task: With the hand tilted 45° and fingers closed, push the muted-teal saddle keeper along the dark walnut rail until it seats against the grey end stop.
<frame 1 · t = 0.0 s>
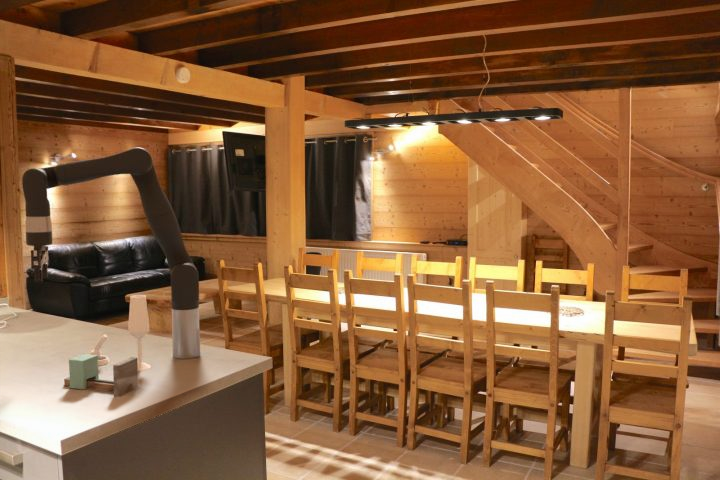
hand: (41, 279, 191), 29 cm above the worktop, tool pointing down, fingers open, 8 cm apart
keeper: (83, 371, 175), point 5 cm above the worktop, slide at -5.0 cm
champagne flute: (140, 368, 193), on the worktop
rail: (98, 387, 174), on the worktop
white vr controller: (97, 363, 198), on the worktop
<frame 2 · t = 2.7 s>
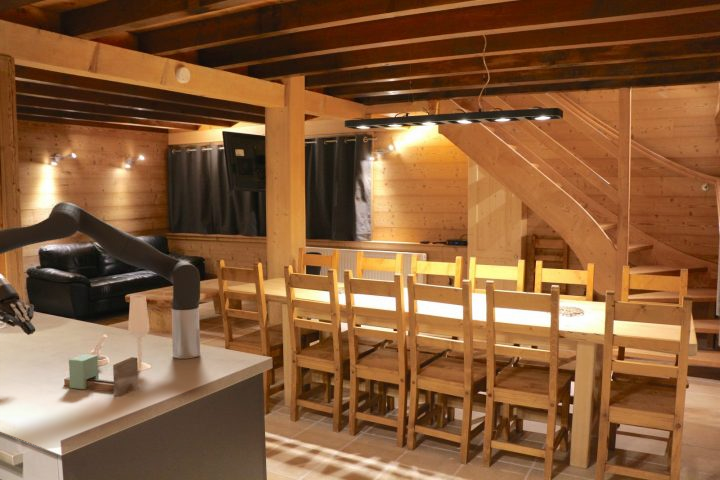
hand: (31, 332, 179), 15 cm above the worktop, tool tilted 45°, fingers closed
nothing on the worktop moved.
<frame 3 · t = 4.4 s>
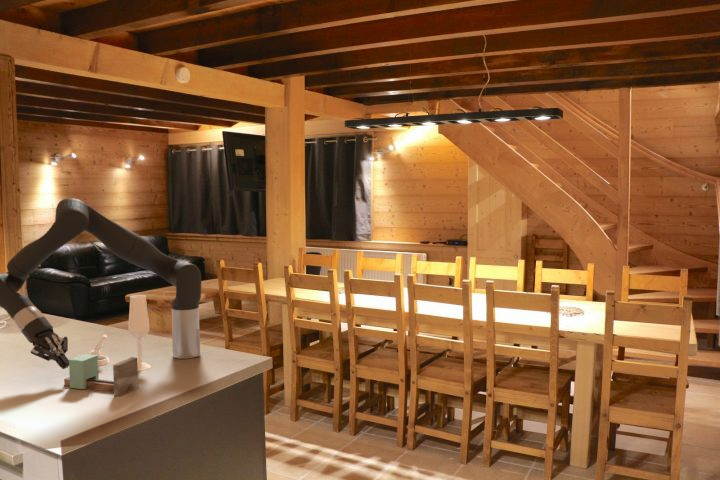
hand: (66, 366, 177), 5 cm above the worktop, tool tilted 45°, fingers closed
nothing on the worktop moved.
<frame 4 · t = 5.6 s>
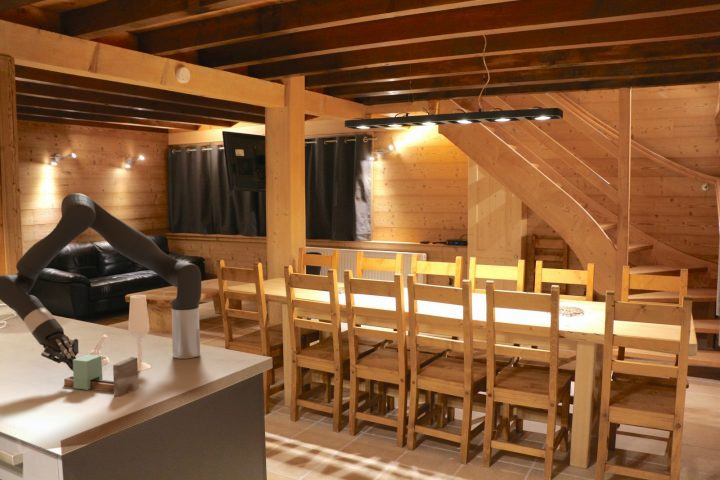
hand: (77, 369, 175), 5 cm above the worktop, tool tilted 45°, fingers closed
keeper: (87, 371, 174), point 5 cm above the worktop, slide at -3.6 cm, touching gripper
everything else where it was.
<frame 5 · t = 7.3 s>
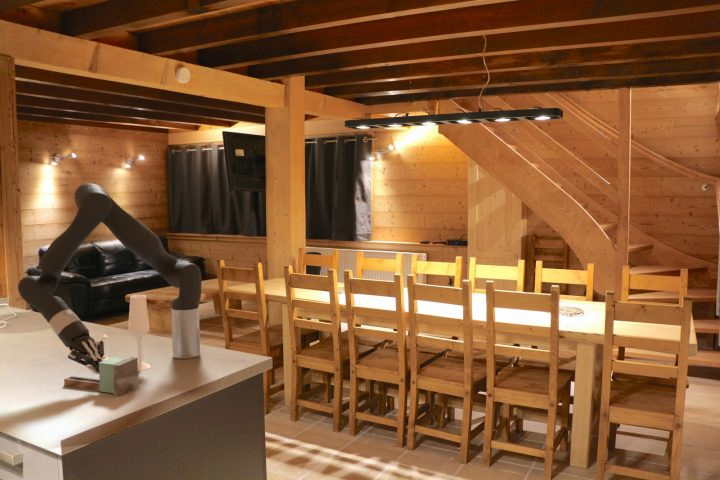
hand: (103, 371, 172), 5 cm above the worktop, tool tilted 45°, fingers closed
keeper: (113, 374, 172), point 5 cm above the worktop, slide at 5.7 cm, touching gripper
everything else where it was.
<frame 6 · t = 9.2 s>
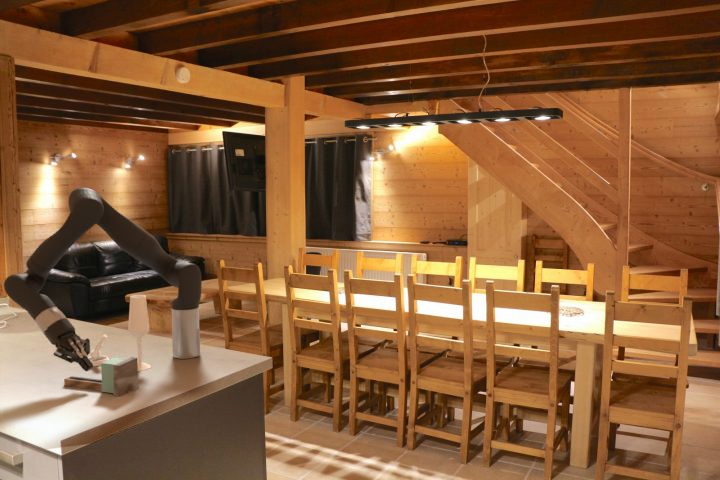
hand: (89, 369, 174), 6 cm above the worktop, tool tilted 45°, fingers closed
keeper: (115, 375, 172), point 5 cm above the worktop, slide at 6.5 cm, touching rail
everything else where it was.
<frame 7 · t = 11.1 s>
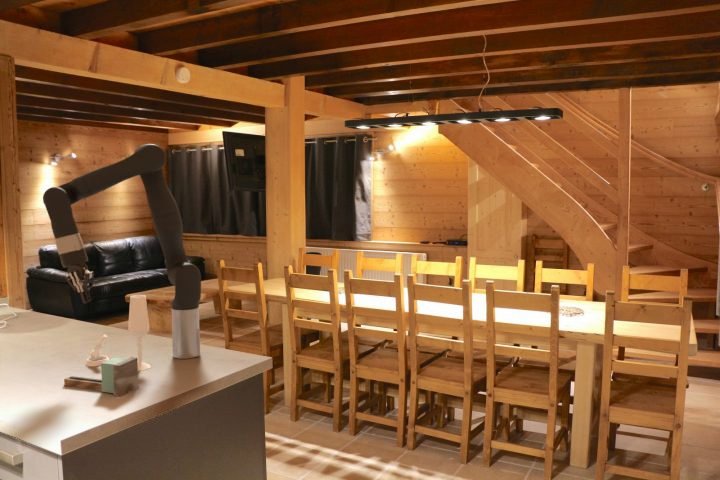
hand: (87, 302, 185), 23 cm above the worktop, tool pointing down, fingers closed
nothing on the worktop moved.
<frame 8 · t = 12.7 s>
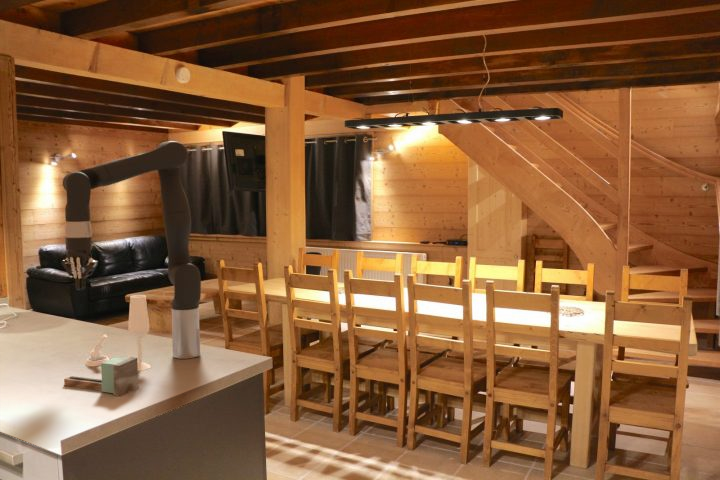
hand: (80, 289, 186), 27 cm above the worktop, tool pointing down, fingers closed
nothing on the worktop moved.
at the end: keeper slide at 6.5 cm; keeper moved 11.5 cm from its start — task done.
